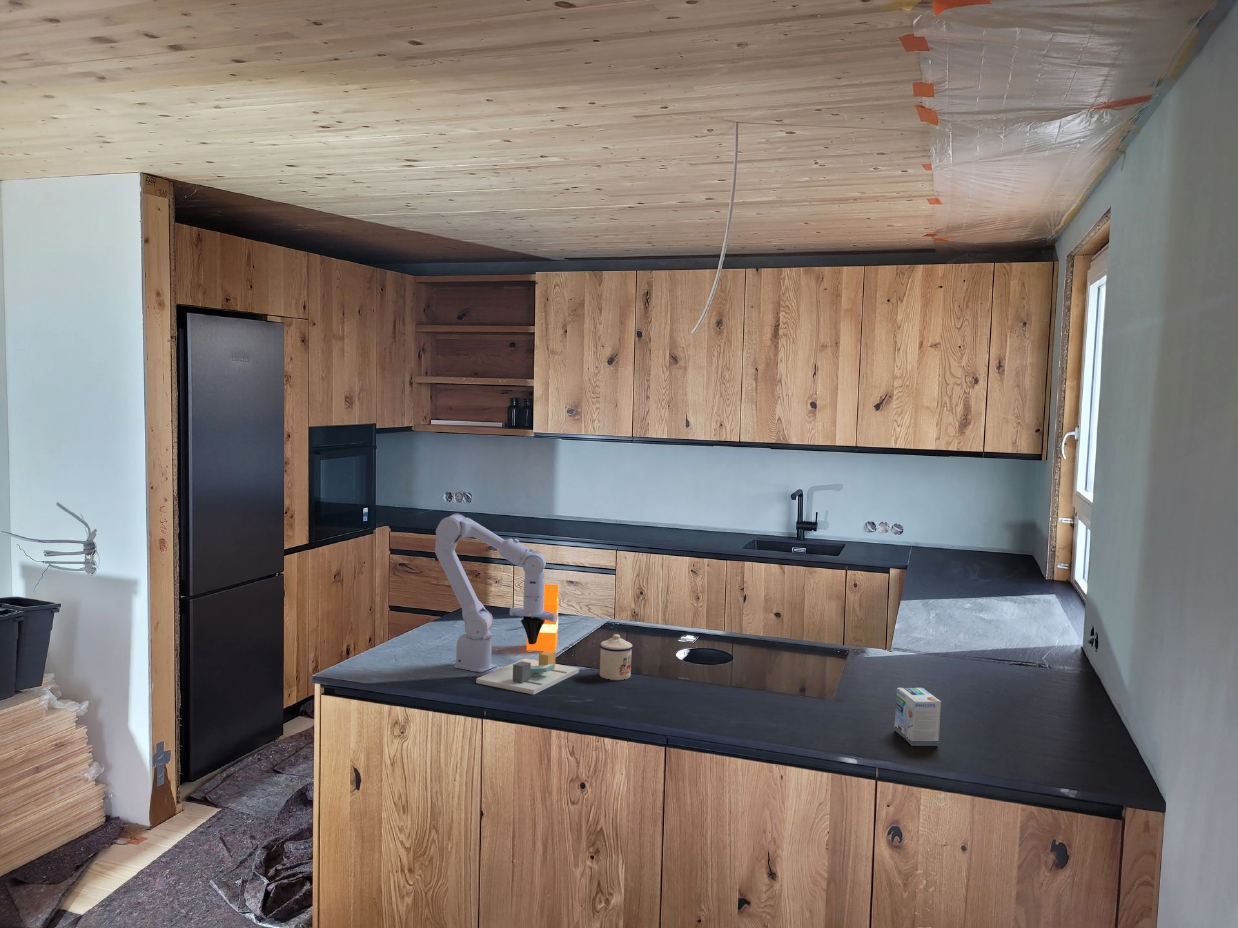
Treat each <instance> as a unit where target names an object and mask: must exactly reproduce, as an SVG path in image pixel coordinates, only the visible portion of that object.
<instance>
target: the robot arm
mask: <svg viewBox="0 0 1238 928" xmlns="http://www.w3.org/2000/svg"><path fill="white" fill-rule="evenodd" d="M463 538H465V539H466V538H474V539H476V540H478V541H480V542H483V543H484V544H486V545H488V546H490V547H492V548H494V549H497V550H498V553H499V556H500V557H502V558H503V559H505V560H507V561H509V563H510V562H511V564H512V563H513V565H515V566H518V567H519V568H522V569H523V572H524V579H523V605H522V607H511V608H509V616H512V617H513V616H517V617H523V618H522V619H521V620H520V623H521V624H522V626H523V629H524V630H525V631H524V632H525V634H526V639H527V638H528V643H529V644H532V645H533V644H536V642H537V638H538V635H539V632H540V629H541V627H542V625H543V624H544V622H545V620H548V621H551V622H555V621H557V614H555V613H551V612H547V611H544V584H545V570H544V569H545V568H546V565H547V559H546V556H545V555H544V554H543V553H541V551H537V550H535V551H534V548H532V547H530V548H529V547H527V546H526V545H523V544H522V543H520V540H519V539H517V538H514V539H513V538H507V539H504V538H502V537H501V536H499V535H497V534H496V533H494V532H492V531H491V530H490V529H487V527H484V526H483V525H481V524H480V523H478V522H477V521H474V520H473V519H472V518H470V517H465V516H464V515H463V514H461V513H453V514H451V515H450V516H446V517H444V518H442V519H441V520H440V522H439V523H438V525H437V527H436V529H435V547H434V553H435V556H436V557H437V560H438V562H439V563H440V566H441V568H442V570H443V572H444V574H445V576H446V578H447V581H448V583H449V585H450V587H451V589H452V591H453V593H454V595H455V597H456V599H457V601H458V604H459V605H460V608H461V614H462V615H461V616H462V619H463V622H464V632H465V633H466V634H465V633H464V634H461V635H460V636H459V638H458V639H457V642H456V648H455V649H456V655H455V656H456V657H455V664H454V666H453V667H454V668H455V669H462V670H466V671H471V672H477V673H484V672H487V671H489V670H491V669H494V668H496V667H498V664H496V663H492V645H493V644H492V640H493V639H492V638H493V637H492V636H493V634H492V632H491V630H490V629H492V626H493V625H494V617H493V615H492V613H491V612H490V611H488V610H487V609H486V608H485V606H484V604H483V603H482V602H481V601H480V600H479V599H478V596H477V595H476V592H475V589H474V588H473V586H472V584H471V582H470V579H469V578H468V575H467V574H466V571H465V569H464V568H463V564H462V563H461V561H460V558H459V557H458V555H457V552H456V548H457V546H458V543H459V540H460V539H463Z"/></svg>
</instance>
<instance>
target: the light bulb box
mask: <svg viewBox="0 0 1238 928" xmlns="http://www.w3.org/2000/svg"><path fill="white" fill-rule="evenodd" d="M895 701H896V702H895V715H894V716H895V717H894V727H895V726H896V727H897V728H898V729H899V730H900V731H901V732H902V733H903V734H904V735H905V736H906V737H908V739H910V740H911V741H939V740H940V727H941V726H940V722H941V710H942V709H941V708H942V701H941V700H940V699H938V698H937V697H936V696H935V695H933V694H931V693H930V692H929V691H927V690H926V689H925V688H923V687H897V688H896V699H895Z"/></svg>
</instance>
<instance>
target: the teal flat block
mask: <svg viewBox="0 0 1238 928" xmlns="http://www.w3.org/2000/svg"><path fill="white" fill-rule="evenodd" d="M554 668H555V667H554V665H553V664H548V665H538V666H531V671H530V673H538V672H547V671H550V670H552V669H554Z"/></svg>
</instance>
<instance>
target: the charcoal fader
mask: <svg viewBox="0 0 1238 928" xmlns="http://www.w3.org/2000/svg"><path fill="white" fill-rule="evenodd" d="M512 664H513V663H512ZM530 671H531V663H528V662H523V661H521V662H518V663H516V664H513V681H515V682H520V683H523V682H525V681H527V680H529V679H530Z"/></svg>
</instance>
